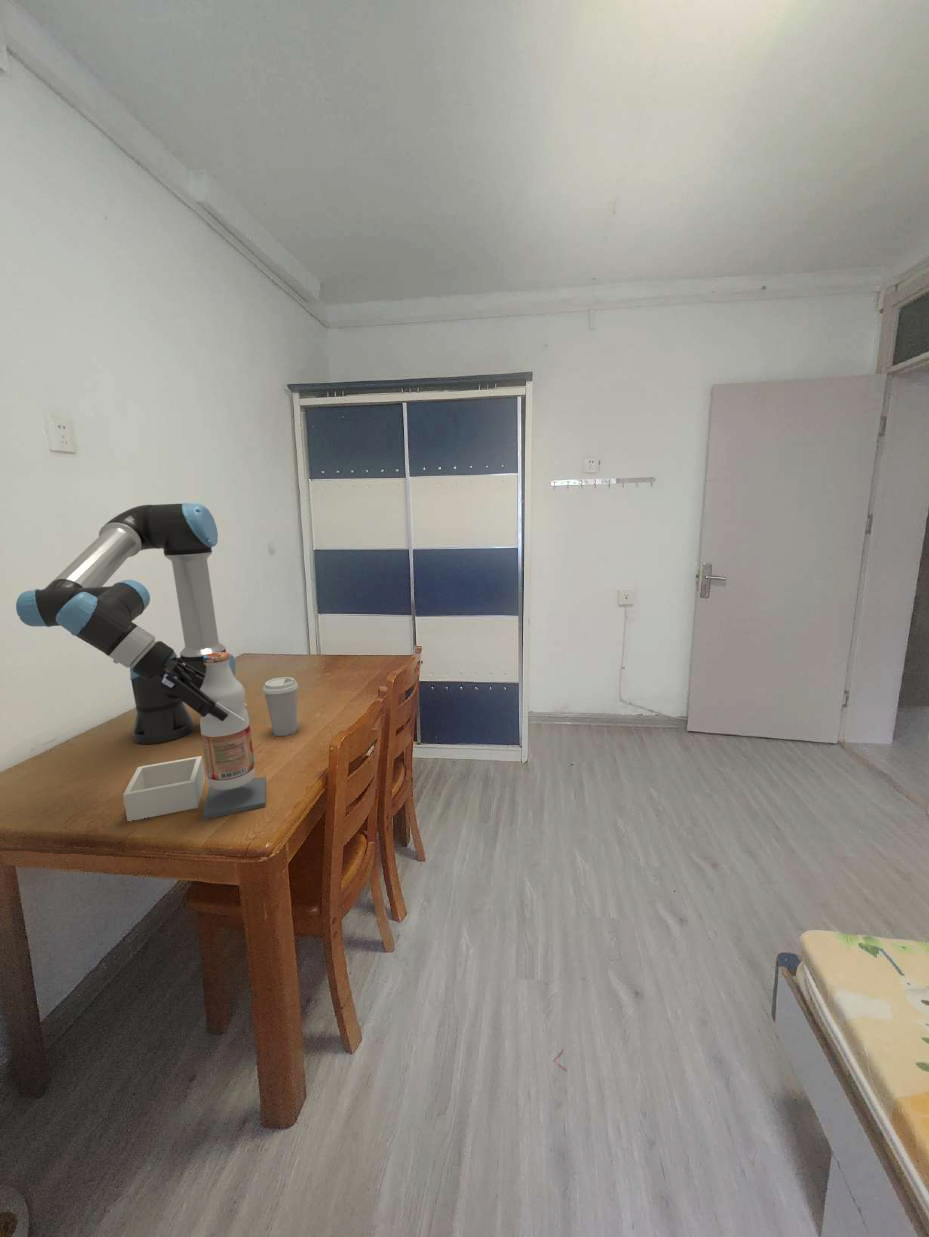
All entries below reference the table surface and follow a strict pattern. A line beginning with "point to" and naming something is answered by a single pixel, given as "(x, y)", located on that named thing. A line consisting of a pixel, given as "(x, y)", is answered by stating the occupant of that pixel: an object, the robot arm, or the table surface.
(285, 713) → the coffee cup
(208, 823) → the table surface
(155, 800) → the frame
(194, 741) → the table surface
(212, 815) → the mat
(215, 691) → the fruit juice
